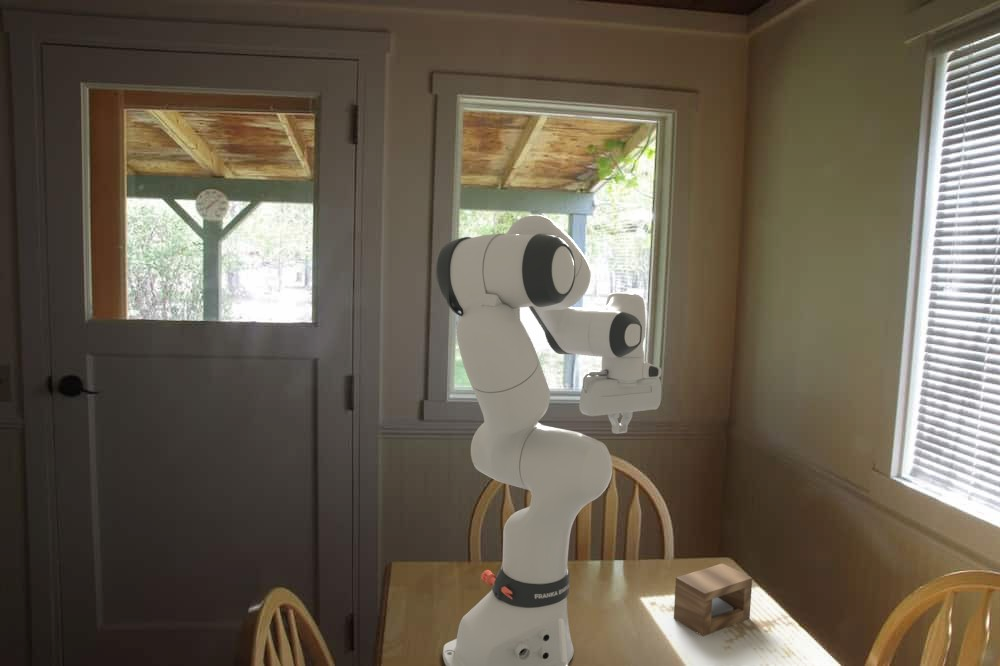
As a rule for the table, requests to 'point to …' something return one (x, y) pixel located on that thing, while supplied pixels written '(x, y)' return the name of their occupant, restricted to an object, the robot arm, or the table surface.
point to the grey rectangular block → (720, 607)
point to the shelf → (705, 586)
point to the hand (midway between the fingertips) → (619, 432)
